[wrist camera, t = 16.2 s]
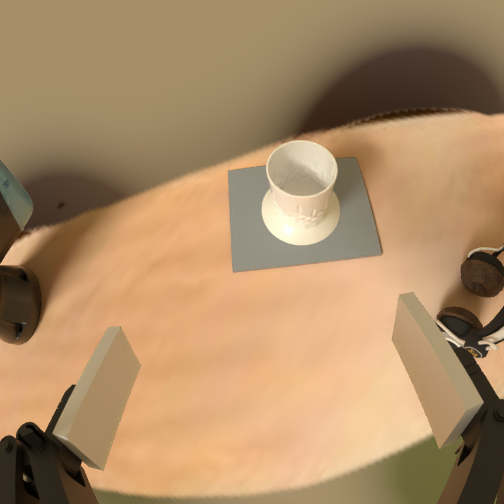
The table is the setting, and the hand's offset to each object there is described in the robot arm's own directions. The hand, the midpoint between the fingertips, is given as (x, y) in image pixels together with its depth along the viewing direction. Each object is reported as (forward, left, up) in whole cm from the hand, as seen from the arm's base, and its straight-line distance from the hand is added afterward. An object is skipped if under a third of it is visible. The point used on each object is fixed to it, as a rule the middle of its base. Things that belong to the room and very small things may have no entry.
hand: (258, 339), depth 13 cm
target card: (+5, +18, -24) cm, 30 cm away
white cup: (+5, +18, -24) cm, 30 cm away
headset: (+26, +1, -24) cm, 35 cm away
